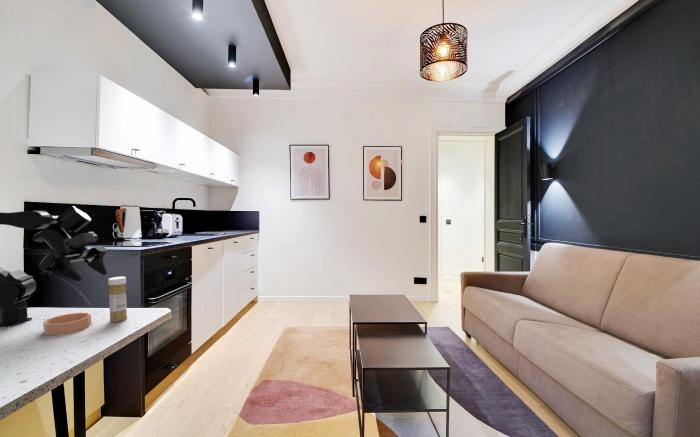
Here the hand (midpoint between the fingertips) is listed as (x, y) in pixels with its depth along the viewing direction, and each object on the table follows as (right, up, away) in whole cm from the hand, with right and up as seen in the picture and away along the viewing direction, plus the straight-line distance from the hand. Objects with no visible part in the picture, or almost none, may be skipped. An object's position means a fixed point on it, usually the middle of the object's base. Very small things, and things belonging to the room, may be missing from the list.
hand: (93, 277), depth 104 cm
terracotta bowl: (-2, -14, -7) cm, 16 cm away
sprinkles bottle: (+8, -14, 0) cm, 16 cm away
